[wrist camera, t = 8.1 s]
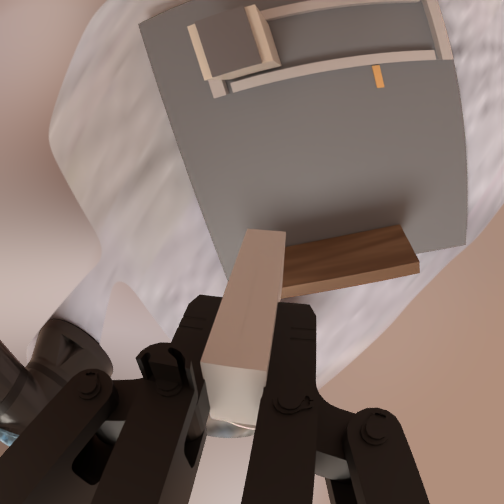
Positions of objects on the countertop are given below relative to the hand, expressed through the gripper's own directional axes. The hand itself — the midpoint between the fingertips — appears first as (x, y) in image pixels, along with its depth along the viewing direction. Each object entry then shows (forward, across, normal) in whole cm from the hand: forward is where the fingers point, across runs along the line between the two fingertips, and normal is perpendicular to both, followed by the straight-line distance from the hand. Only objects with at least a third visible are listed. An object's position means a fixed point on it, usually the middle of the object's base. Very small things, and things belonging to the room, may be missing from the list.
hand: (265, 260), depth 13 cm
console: (+16, +3, +4) cm, 17 cm away
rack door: (+14, +5, -7) cm, 16 cm away
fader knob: (+14, -3, +9) cm, 17 cm away
